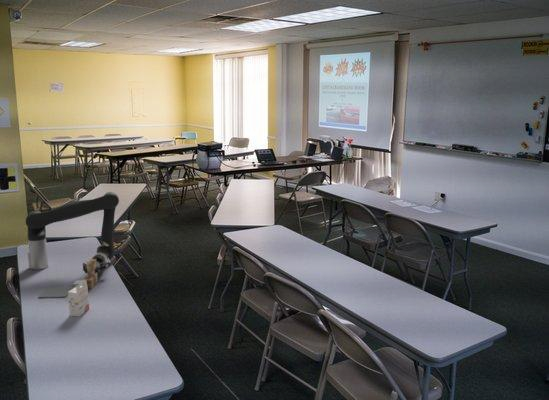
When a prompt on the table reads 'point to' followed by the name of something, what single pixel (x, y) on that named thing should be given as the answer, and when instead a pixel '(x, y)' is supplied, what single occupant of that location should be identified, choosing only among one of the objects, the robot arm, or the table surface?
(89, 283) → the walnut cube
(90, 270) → the maple block
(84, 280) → the grey block
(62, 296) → the slate mat
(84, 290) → the ink cartridge box
